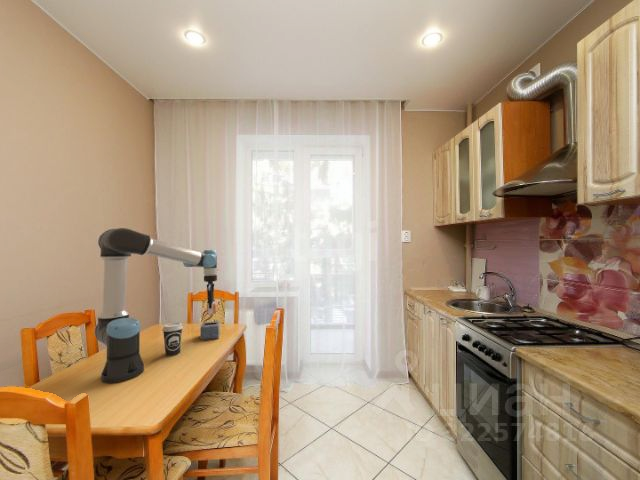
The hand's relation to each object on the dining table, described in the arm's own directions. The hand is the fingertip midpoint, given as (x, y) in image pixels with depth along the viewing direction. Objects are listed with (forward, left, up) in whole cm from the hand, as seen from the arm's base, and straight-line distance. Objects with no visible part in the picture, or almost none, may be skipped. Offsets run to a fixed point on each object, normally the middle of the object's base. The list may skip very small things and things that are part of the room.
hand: (210, 312), depth 163 cm
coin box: (0, 0, -15) cm, 15 cm away
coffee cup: (-21, +16, -15) cm, 31 cm away
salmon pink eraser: (0, 0, -1) cm, 1 cm away
